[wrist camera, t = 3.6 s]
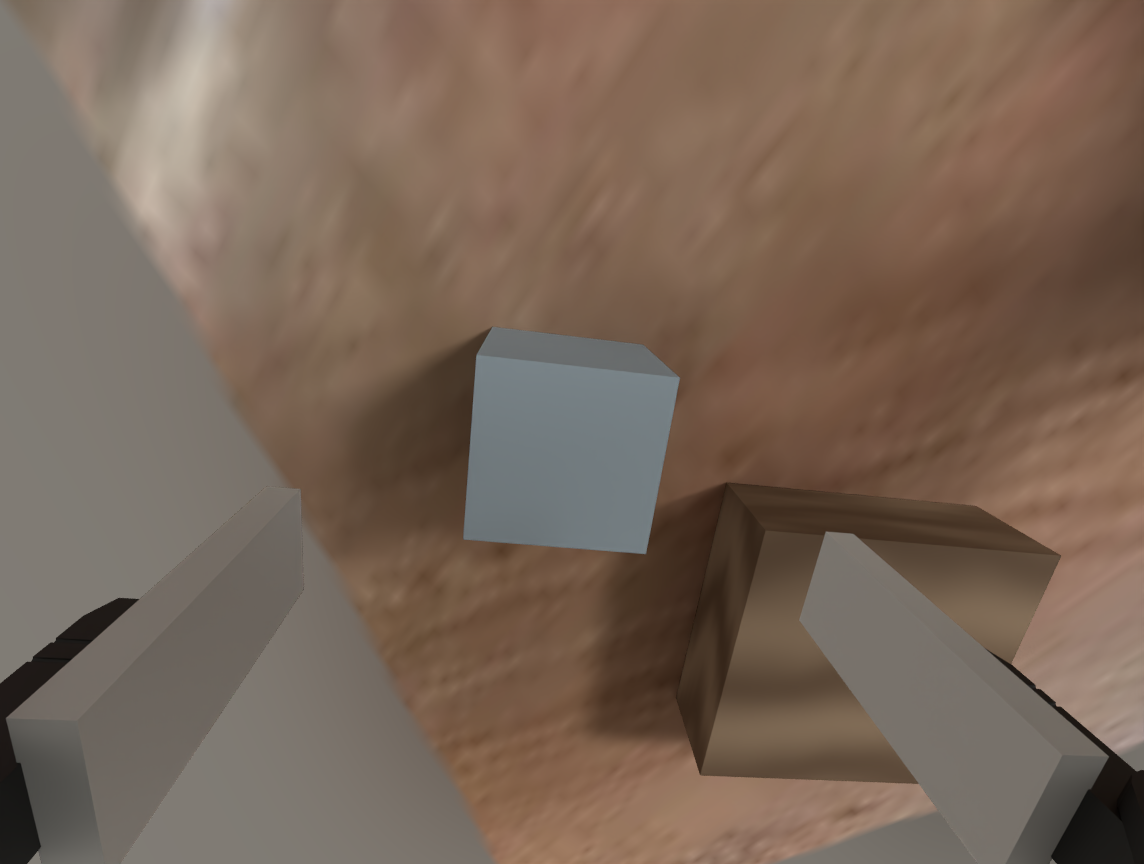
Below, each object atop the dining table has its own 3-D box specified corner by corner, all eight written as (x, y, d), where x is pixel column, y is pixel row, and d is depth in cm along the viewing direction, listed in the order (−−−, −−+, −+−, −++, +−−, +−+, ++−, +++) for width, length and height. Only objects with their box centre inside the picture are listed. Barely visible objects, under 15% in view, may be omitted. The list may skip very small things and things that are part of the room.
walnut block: (726, 482, 28) (765, 530, 23) (976, 506, 29) (1061, 555, 24) (676, 698, 32) (700, 775, 27) (895, 709, 34) (954, 785, 29)
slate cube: (492, 326, 25) (476, 354, 18) (642, 344, 25) (679, 377, 19) (481, 468, 27) (463, 539, 20) (619, 480, 28) (645, 554, 21)
